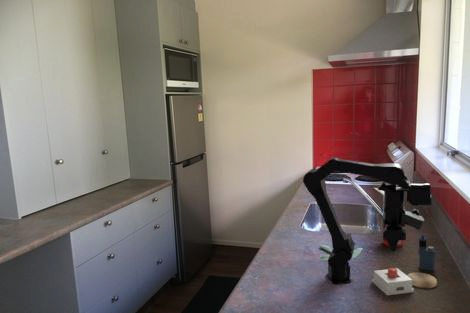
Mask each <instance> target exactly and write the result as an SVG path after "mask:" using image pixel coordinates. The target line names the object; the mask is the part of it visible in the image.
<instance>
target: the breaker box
mask: <svg viewBox="0 0 470 313" xmlns="http://www.w3.org/2000/svg"><path fill="white" fill-rule="evenodd" d="M394 268H395V269H397V278H389V277H388V268H387V269H378V270H373V278H372V280H371V282H372V283H373V284H374V285H375V286H376V287H378V288H379V290H381V291H382V292H383V293H384V295H386V296H392V295H401V294H409V293H410V294H411V293H414V292H415V290H414V289H415V288H413V285H412V279H411V278H409V277H408V276H407V275H408V274H406V273H404V272H403V271H401V269H399V268H398V267H394Z"/></svg>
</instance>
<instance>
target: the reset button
mask: <svg viewBox="0 0 470 313" xmlns="http://www.w3.org/2000/svg"><path fill="white" fill-rule="evenodd" d="M395 268H396V267H389V268H387V269H388V277H389V278H397V269H395Z"/></svg>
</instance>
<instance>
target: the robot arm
mask: <svg viewBox="0 0 470 313" xmlns="http://www.w3.org/2000/svg"><path fill="white" fill-rule="evenodd" d="M335 172H339V173H340V172H341V173H346V174H353V175H358V176H363V177H364V176H365V177H370V178H374V179H376V180H377V181H378V180H379V181H381V184H379V185H378V186H377V190H378V191H383V195H384V196H383V200H384V201H383V216H382V217H383V218H382V223H383V222H384V224H385V225H387V226H384V228H383V227H382V239H383V238H384V239H387V242H388V244H389V246H390V247H389V248H390V251H391V252H394V253H395V252H396V251H397V248H398V247H397V244H398V240H403V242H405V241H406V240H407V232H406V229H405V228H404V227H406V226H409V227H412V228H414V229H415V230H418V231H421V229H422V227H423V225H424V222H425V218H424V217H423V216H422V215H420V212H419V210H418V209H416V208H413V209H412V210H411V211H409V210H408V211H407V210H406V207H405V199H406V203H407V202H408V204H409V205H410V206H419V207H420V206H421V207H431V206H432V192H431V184H430V183H427V182H426V183H411V180H410V179H408V177H407V176H406V174H405V170H404V167H403V166H402V165H401V164H400V163H395V162H393V163H390V162H389V163H388V162H387V163H386V162H385V163H384V162H383V163H369V162H362V161H356V160H350V159H344V158H343V159H342V158H339V157H331V158H330V159H329V160H328V161H326V162H325V163H324V164H322V165H321V166H320V167H318V168H312V169H310V170H308V171H307V173H305V175H304V176H303V178H302V182H303V185H304V186H305V188H306V189H307V191H308V192H309V194H310V195H311V196H312V197H313V198H314V199H315V202H316V204H317V206H318V208H319V211H320V214H321V216H322V218H323V220H324V222H325V225H326V227H327V230H328V231H329V234H330V236H331V243H332V251H331V254H330V253H329V255H330V256H329V259H328V261H327V273H326V275H325V276H326V277H327V278H328V279H329V281H330V282H331V283H332V284H333V285H336V284H344V283H351V282H352V279H351V266H350V261H351V260H352V259H351V258H352V255H353V252H354V250H355V246H356V245H355V244H356V242H355V241H354V240H353V238H352V234H351V233H349V232H348V234H347V233H346V232H345V231H344V230H343V228H342V226H341V222H340V221H339V218H338V216H337V214H336V211H335V209H334V206H333V204H332V202H331V199H330V197H329V194H328V192H327V186H326V185H327V184H326V180H325V179H326V178H327V177H329V176H330V175H331V174H333V173H335ZM405 192H406V194H405ZM405 195H406V198H405ZM401 226H403V227H401ZM396 247H397V248H396Z"/></svg>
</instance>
